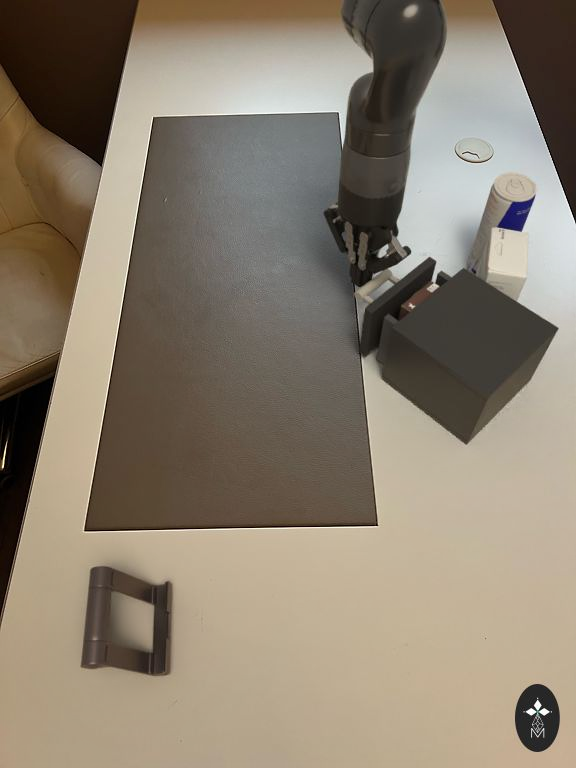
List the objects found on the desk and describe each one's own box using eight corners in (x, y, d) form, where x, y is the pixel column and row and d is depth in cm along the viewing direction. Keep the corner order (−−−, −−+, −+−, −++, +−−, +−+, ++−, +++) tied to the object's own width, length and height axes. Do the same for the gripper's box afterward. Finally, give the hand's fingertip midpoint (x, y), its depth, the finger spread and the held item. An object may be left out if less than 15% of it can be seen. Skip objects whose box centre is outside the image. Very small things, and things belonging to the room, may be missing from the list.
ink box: (502, 340, 84) (529, 278, 75) (465, 333, 85) (487, 272, 75) (504, 293, 89) (530, 230, 79) (469, 288, 90) (490, 224, 80)
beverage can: (480, 288, 90) (510, 204, 77) (459, 262, 93) (484, 178, 80) (512, 276, 91) (547, 192, 79) (491, 251, 94) (520, 166, 81)
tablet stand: (171, 677, 61) (155, 660, 54) (90, 684, 61) (64, 668, 54) (173, 587, 66) (159, 561, 59) (98, 593, 66) (75, 568, 59)
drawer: (334, 333, 84) (338, 288, 77) (394, 286, 89) (403, 239, 82) (433, 409, 77) (447, 367, 70) (492, 353, 82) (511, 309, 75)
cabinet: (381, 379, 81) (391, 326, 72) (446, 322, 86) (463, 267, 77) (466, 445, 75) (488, 397, 67) (530, 380, 81) (559, 328, 72)
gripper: (441, 185, 68) (416, 293, 83) (352, 134, 74) (343, 243, 88) (396, 218, 65) (378, 324, 80) (307, 161, 71) (305, 270, 85)
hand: (359, 281), depth 84 cm, fingers closed
